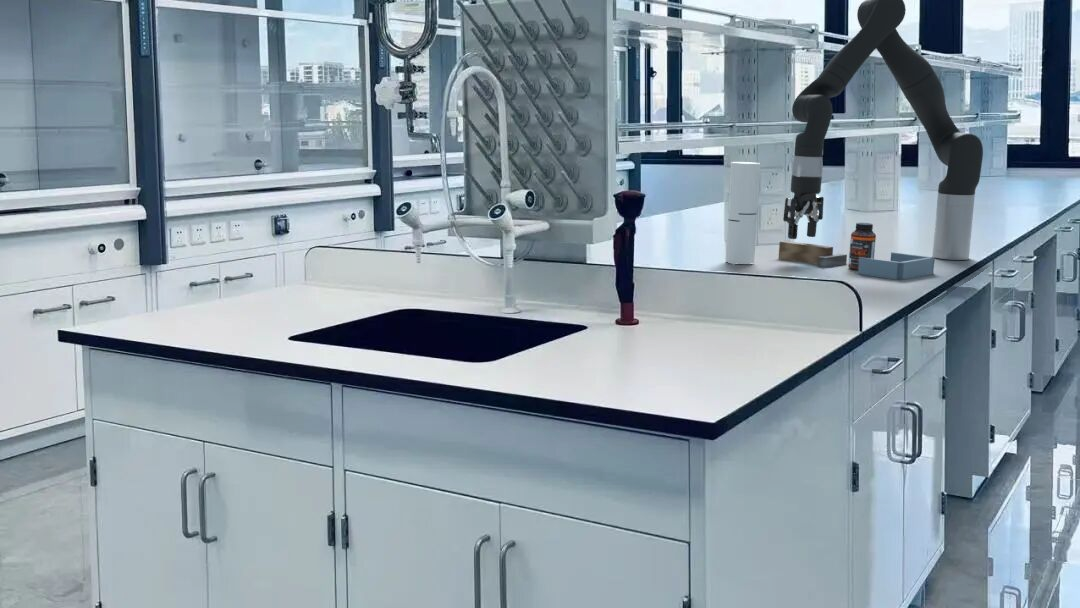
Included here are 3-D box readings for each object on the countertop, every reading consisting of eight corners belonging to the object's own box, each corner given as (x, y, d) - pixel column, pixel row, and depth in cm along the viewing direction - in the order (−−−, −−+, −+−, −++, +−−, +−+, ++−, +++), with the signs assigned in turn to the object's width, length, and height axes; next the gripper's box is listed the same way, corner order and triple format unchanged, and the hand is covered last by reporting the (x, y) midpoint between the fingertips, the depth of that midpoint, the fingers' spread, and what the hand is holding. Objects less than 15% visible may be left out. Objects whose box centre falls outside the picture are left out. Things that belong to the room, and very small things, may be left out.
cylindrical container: (753, 265, 277) (760, 164, 273) (724, 264, 279) (730, 163, 274) (754, 261, 284) (760, 162, 280) (725, 260, 286) (731, 161, 281)
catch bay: (858, 273, 268) (859, 257, 267) (891, 268, 279) (893, 252, 278) (900, 280, 260) (901, 263, 259) (933, 273, 271) (934, 257, 270)
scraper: (770, 260, 289) (771, 242, 288) (792, 256, 296) (793, 240, 295) (824, 267, 278) (826, 249, 277) (846, 264, 285) (847, 246, 284)
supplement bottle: (846, 269, 275) (850, 223, 273) (849, 266, 280) (853, 221, 278) (871, 271, 272) (875, 225, 270) (874, 268, 278) (878, 223, 276)
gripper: (809, 172, 292) (804, 234, 295) (778, 173, 282) (773, 237, 285) (834, 175, 287) (829, 237, 290) (803, 176, 277) (798, 241, 280)
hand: (801, 237), depth 287 cm, fingers open, 8 cm apart
